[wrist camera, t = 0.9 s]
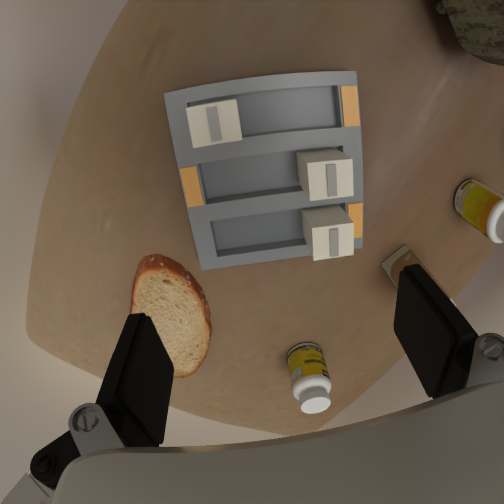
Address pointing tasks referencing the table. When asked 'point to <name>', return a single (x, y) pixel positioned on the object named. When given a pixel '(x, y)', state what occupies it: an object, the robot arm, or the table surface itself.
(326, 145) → the switch bank
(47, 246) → the table surface
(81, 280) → the table surface
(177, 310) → the bread slice
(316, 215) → the tab
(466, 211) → the supplement bottle
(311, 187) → the tab
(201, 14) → the table surface
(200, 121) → the beige switch slider block
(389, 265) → the skincare box
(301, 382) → the supplement bottle
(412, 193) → the table surface
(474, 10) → the tabletop clock
